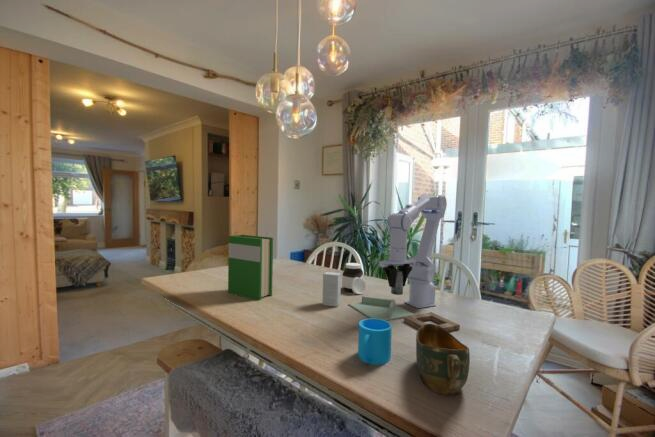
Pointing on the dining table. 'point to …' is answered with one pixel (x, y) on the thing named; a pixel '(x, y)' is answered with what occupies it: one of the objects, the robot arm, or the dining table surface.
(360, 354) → the mug
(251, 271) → the hardback book
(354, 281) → the spread jar
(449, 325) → the brown square frame
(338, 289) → the skincare box
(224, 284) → the dining table surface
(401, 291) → the metal axle
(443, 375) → the cup
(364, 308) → the sage V-block
